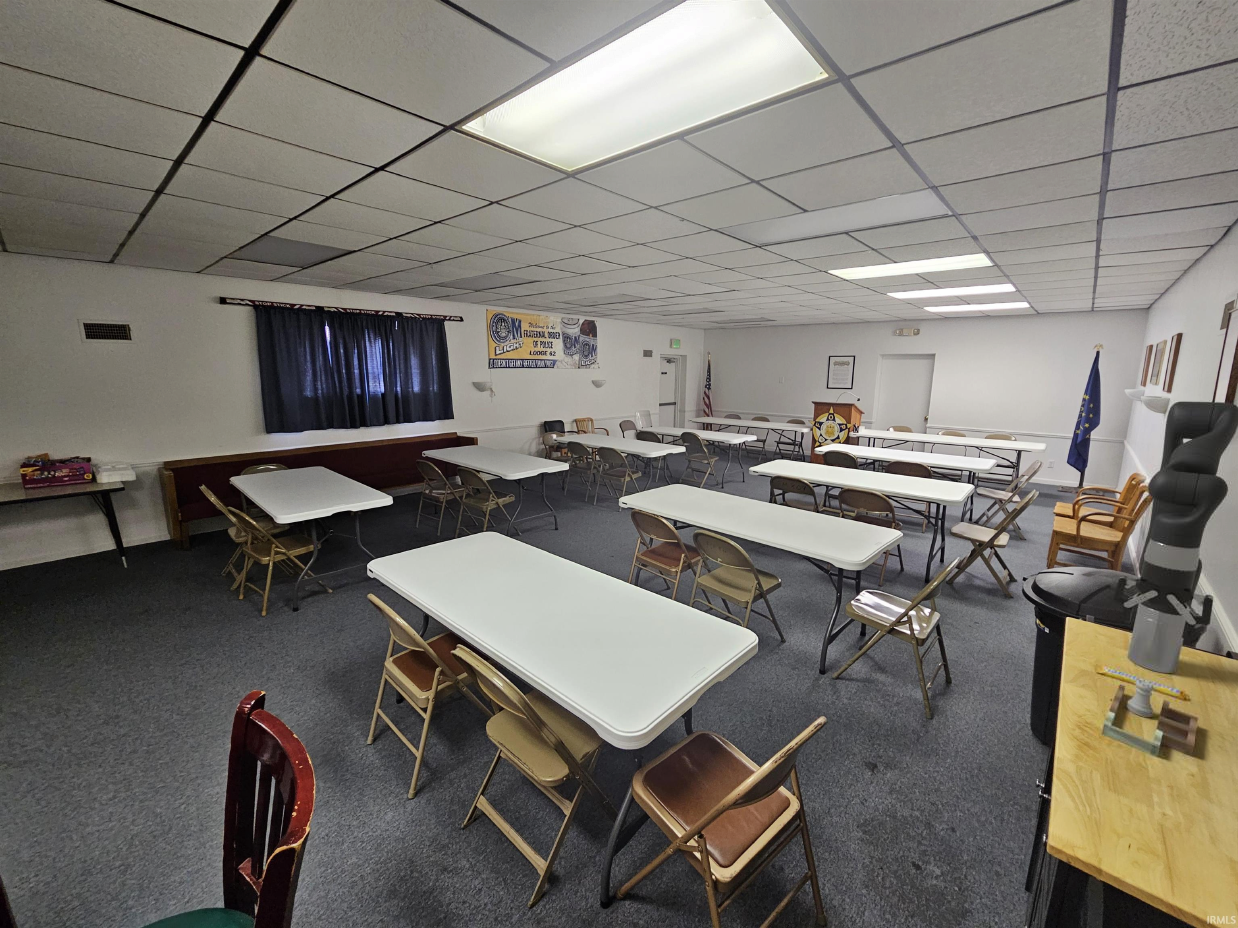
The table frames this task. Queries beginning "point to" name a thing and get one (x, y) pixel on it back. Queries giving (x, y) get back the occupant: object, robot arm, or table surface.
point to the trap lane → (1174, 726)
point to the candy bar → (1133, 679)
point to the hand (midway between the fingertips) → (1154, 629)
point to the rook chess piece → (1141, 699)
